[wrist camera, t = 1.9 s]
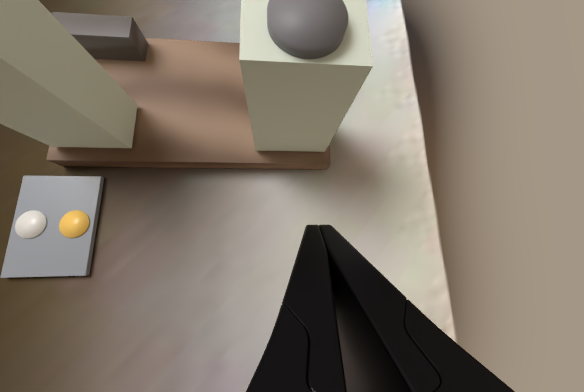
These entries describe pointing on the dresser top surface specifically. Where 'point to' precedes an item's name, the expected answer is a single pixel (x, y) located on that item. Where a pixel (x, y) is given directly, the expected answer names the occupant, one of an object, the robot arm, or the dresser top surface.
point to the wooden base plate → (175, 102)
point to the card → (54, 227)
